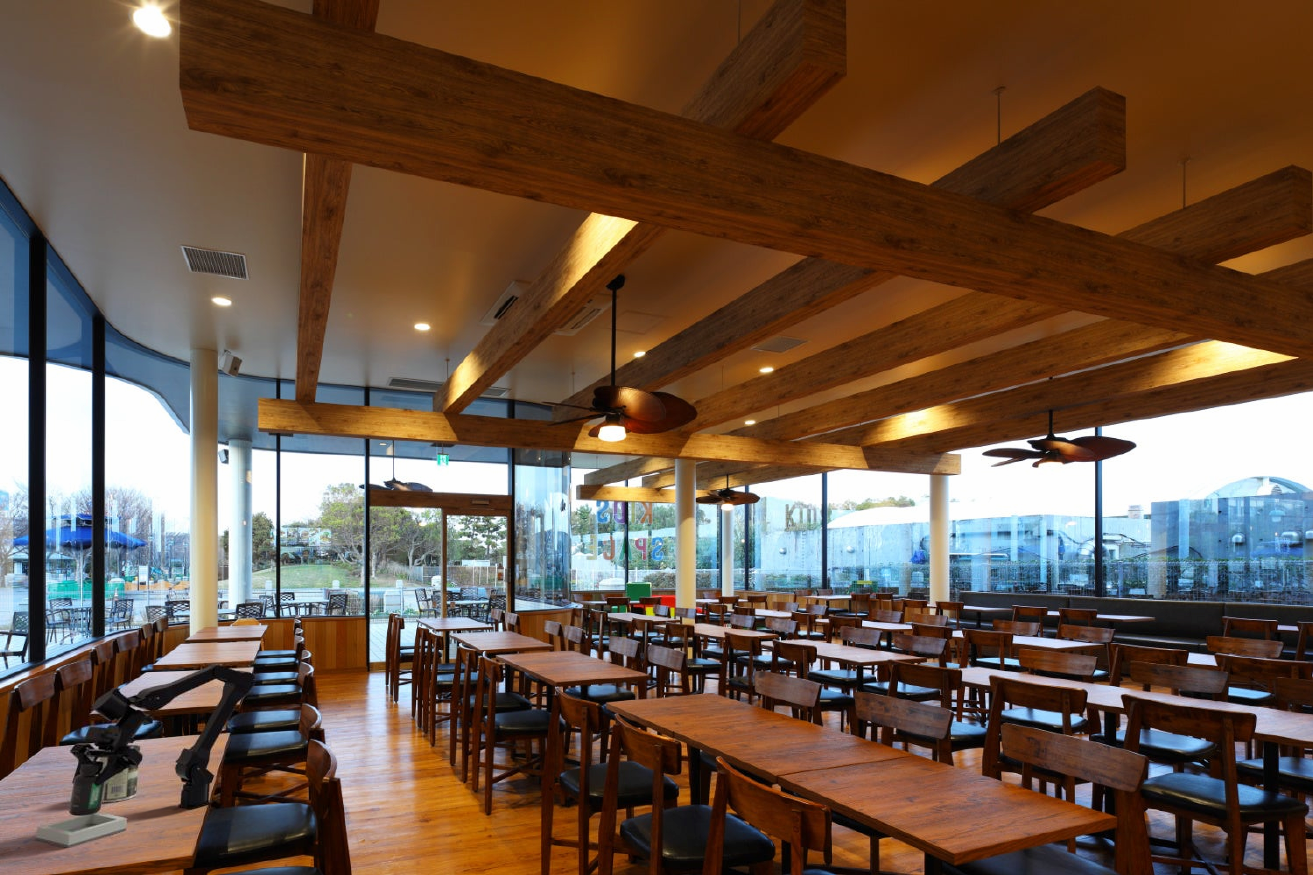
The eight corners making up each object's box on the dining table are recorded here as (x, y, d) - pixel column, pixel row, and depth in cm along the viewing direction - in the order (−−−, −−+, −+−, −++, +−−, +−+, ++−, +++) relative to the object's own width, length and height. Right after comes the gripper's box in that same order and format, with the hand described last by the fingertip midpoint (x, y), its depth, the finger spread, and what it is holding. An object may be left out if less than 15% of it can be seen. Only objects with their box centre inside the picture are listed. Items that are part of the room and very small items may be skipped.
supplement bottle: (99, 814, 208) (107, 766, 209) (67, 817, 204) (75, 768, 206) (101, 806, 214) (109, 758, 215) (70, 808, 210) (78, 760, 212)
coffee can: (126, 791, 249) (130, 743, 251) (143, 796, 244) (147, 747, 246) (88, 799, 240) (93, 750, 242) (105, 805, 235) (109, 754, 237)
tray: (94, 823, 219) (95, 811, 219) (125, 830, 213) (126, 818, 213) (36, 839, 206) (37, 827, 207) (68, 847, 200) (69, 834, 201)
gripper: (79, 712, 218) (36, 765, 206) (136, 714, 214) (96, 769, 202) (102, 735, 225) (62, 789, 212) (159, 738, 220) (121, 792, 208)
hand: (84, 784), depth 209 cm, fingers closed on supplement bottle, 7 cm apart
